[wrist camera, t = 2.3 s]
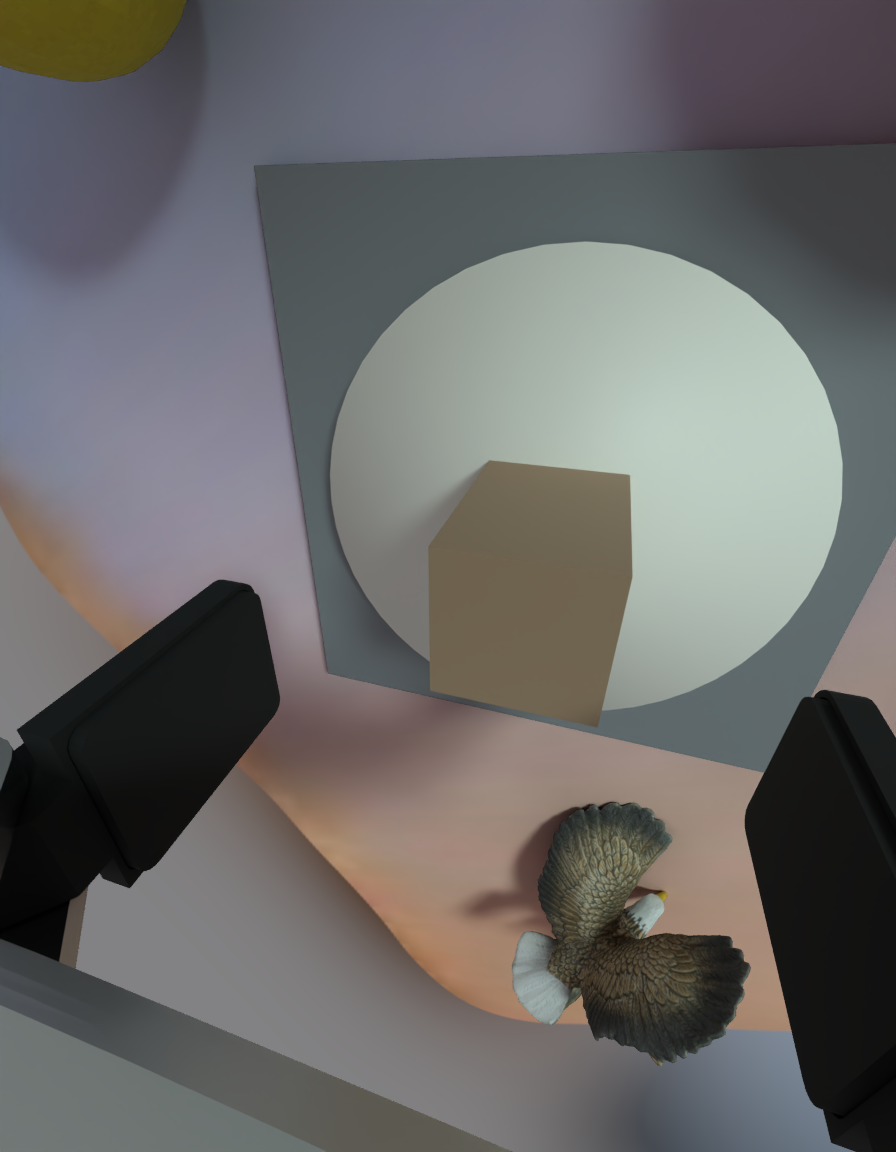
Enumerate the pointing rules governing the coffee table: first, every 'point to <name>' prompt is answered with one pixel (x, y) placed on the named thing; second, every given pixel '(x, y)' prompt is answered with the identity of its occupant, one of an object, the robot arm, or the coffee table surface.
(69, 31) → the lemon
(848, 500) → the mat
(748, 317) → the lid
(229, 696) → the robot arm
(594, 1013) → the eagle figurine
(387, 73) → the coffee table surface
